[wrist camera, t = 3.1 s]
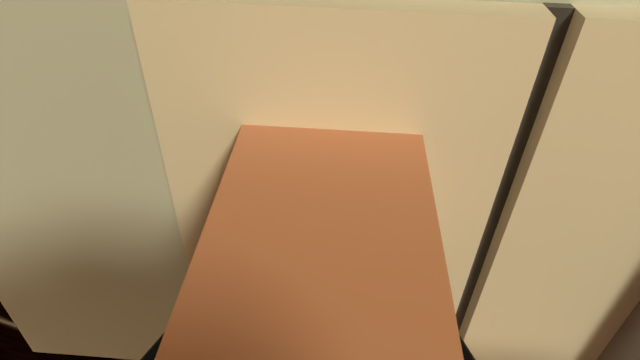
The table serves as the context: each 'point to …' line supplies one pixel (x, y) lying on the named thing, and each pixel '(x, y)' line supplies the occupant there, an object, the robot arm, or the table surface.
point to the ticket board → (163, 230)
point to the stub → (332, 166)
